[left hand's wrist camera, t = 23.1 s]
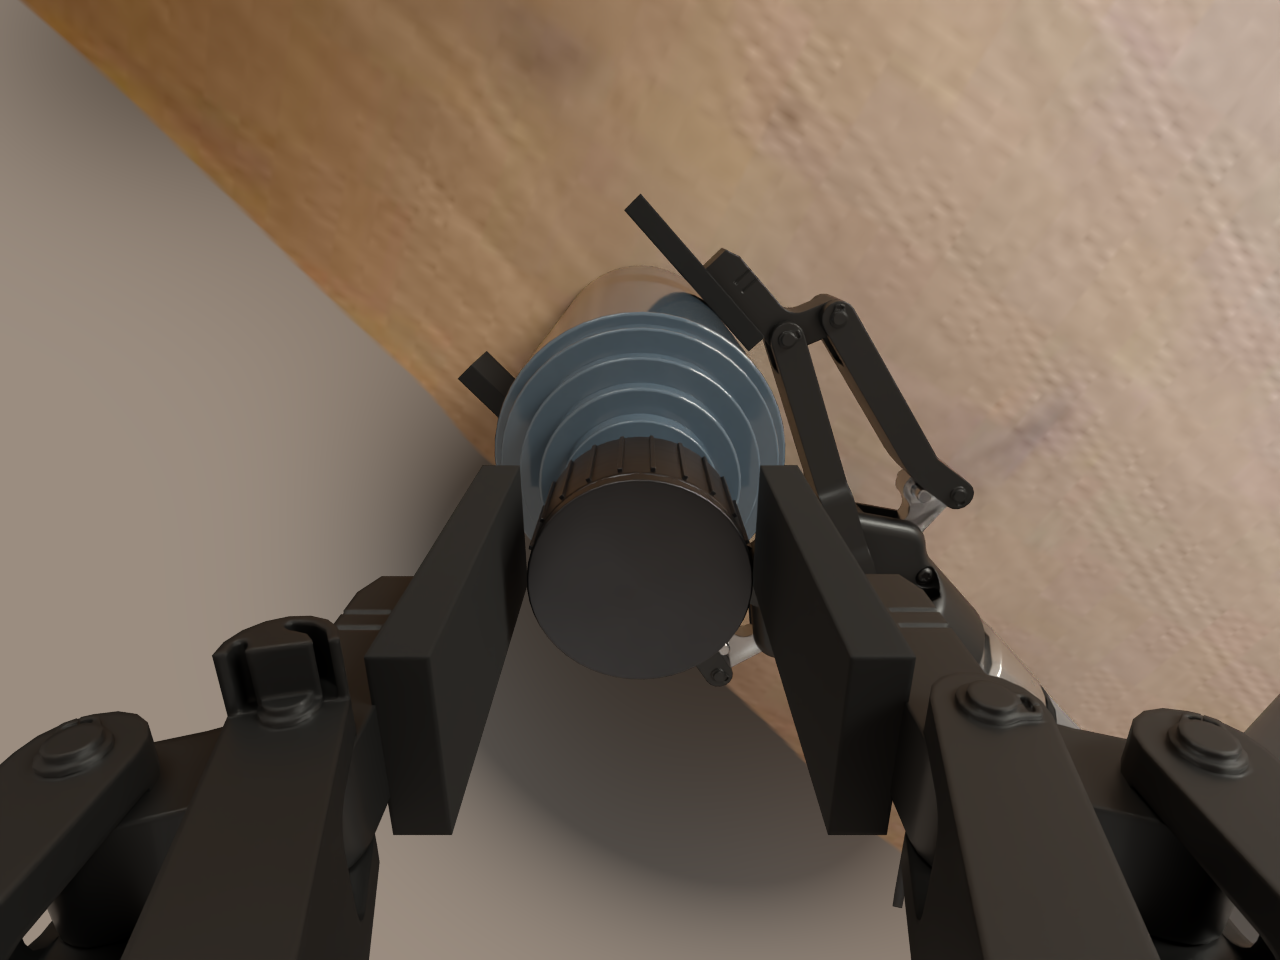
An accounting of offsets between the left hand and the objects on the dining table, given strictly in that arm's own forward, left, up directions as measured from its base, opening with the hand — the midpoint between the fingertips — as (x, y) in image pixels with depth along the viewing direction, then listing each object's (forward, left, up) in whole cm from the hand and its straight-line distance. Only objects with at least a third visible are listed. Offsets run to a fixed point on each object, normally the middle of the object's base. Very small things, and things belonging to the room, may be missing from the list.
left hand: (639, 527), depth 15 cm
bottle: (0, 0, -20) cm, 20 cm away
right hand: (-5, -1, -13) cm, 14 cm away
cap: (0, 0, +2) cm, 2 cm away
